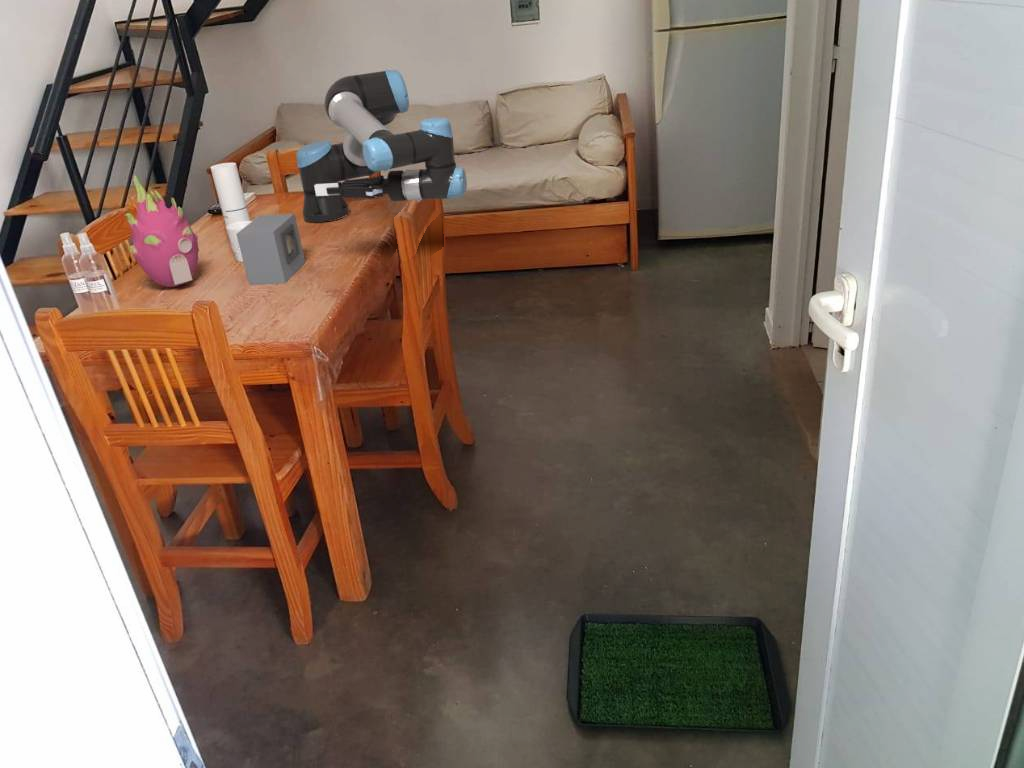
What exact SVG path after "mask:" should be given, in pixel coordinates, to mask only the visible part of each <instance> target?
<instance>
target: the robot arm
mask: <svg viewBox="0 0 1024 768" xmlns="http://www.w3.org/2000/svg"><path fill="white" fill-rule="evenodd" d="M408 93H409V92H408V89H407V86H406V82H405V80H404V78H403V75H402V74H401V72H400V71H399V70H397V69H385V70H383V71H376V72H367V73H362V74H355V75H348V76H344V77H341V78H339V79H337V80H336V81H334V83H333V84H331V85H330V87H329V88H328V90H327V91H326V95H325V97H324V109H325V114H326V115H327V117H328V119H330V121H331V122H332V123H333V124H335V126H337V127H339V128H341V129H344V130H345V131H346V132H347V133H348V135H347V136H346V137H345V139H344V140H343V142H339V143H334V144H332V143H331V141H329V140H322V141H314V142H312V143H308V144H305V145H304V146H301V147H300V148H299V149H298V150H297V151H296V154H295V155H296V163H297V165H296V166H297V168H298V172H299V177H300V181H301V185H302V190H303V196H304V199H303V205H302V217H303V220H304V221H305V222H308V223H313V222H319V223H326V222H325V221H329V222H332V221H331V220H334V221H336V220H335V219H338V218H341V217H343V216H345V215H347V214H348V213H349V214H350V207H349V205H348V203H347V202H346V199H345V198H347V199H348V198H349V199H350V198H351V199H352V198H358V199H370V200H373V199H375V197H383V196H384V195H388V196H389V199H390V200H391V201H392V202H404V201H406V200H408V201H416V202H418V203H419V202H420V203H421V200H450V199H458V198H463V197H464V196H465V195H466V194H467V188H468V182H467V181H468V180H467V174H466V170H465V168H464V167H461V166H457V163H456V159H455V158H456V157H455V147H454V146H455V145H454V135H453V130H452V125H451V122H450V120H449V119H448V118H445V117H429V118H426V119H422V120H421V121H420V123H419V129H418V130H414V131H407V132H403V133H397V134H394V133H392V132H391V130H389V129H388V128H387V127H386V126H387V125H389V124H391V123H392V122H393V121H394V120H395V118H396V116H397V114H404V113H407V112H408V110H409V108H410V100H409V94H408ZM421 163H424V167H425V168H416V169H415V168H414V169H405V171H404V170H403V169H401V170H400V169H399V170H391V169H397V168H401V167H406V166H410V165H411V166H412V165H417V164H421ZM381 171H388V173H387V177H384V175H377V176H373V175H376V174H378V173H379V172H381ZM370 176H372V177H370ZM362 177H363V178H362ZM347 216H348V215H347ZM341 219H342V218H341ZM338 220H339V219H338Z"/></svg>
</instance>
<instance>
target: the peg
mask: <svg viewBox="0 0 1024 768" xmlns="http://www.w3.org/2000/svg"><path fill="white" fill-rule="evenodd" d="M285 239H286V244H287V248H288V252H289V254H291V253H292V250H293V242H292V239H291V237H290V235H287V236H285Z"/></svg>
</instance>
